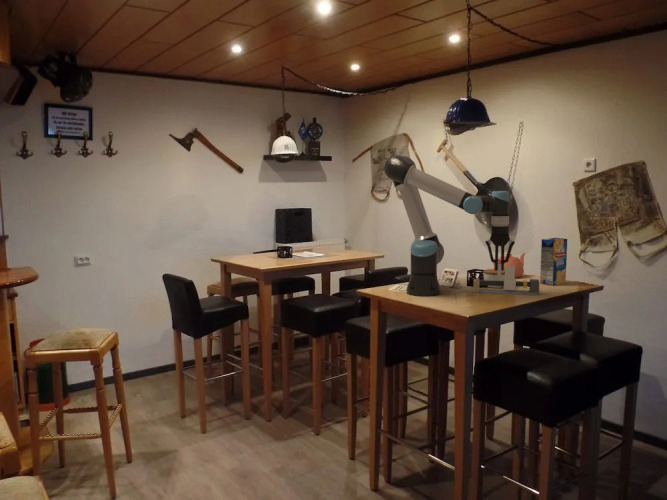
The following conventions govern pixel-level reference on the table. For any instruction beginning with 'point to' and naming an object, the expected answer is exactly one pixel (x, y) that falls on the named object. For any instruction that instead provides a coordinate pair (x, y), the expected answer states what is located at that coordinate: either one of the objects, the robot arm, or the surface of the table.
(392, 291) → the table surface
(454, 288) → the table surface
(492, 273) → the lidded jar
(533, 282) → the cord rig
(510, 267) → the grey upright block
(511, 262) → the teapot
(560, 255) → the beverage box
